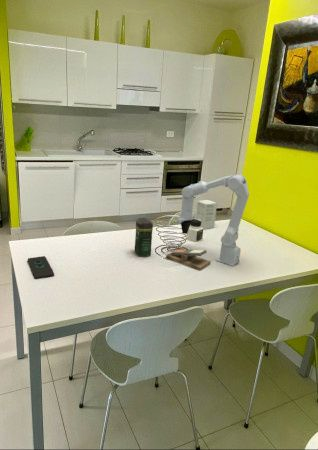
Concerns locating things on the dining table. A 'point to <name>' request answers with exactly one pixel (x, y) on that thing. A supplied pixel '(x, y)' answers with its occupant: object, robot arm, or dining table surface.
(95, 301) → the dining table surface
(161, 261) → the dining table surface
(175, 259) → the switch base
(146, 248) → the coffee jar
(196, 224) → the medicine bottle
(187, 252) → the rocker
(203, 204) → the supplement box
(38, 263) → the smart home device
